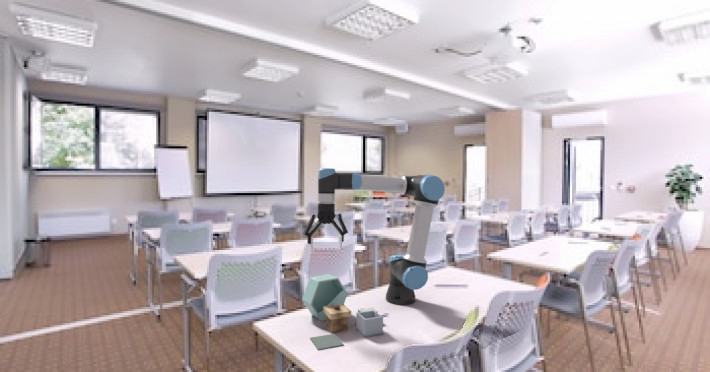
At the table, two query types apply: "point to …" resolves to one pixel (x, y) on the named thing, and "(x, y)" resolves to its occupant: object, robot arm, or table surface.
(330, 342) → the felt mat
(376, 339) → the table surface
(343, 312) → the lid
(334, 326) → the walnut box
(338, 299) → the planter
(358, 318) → the blue-grey box
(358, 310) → the pale green block
